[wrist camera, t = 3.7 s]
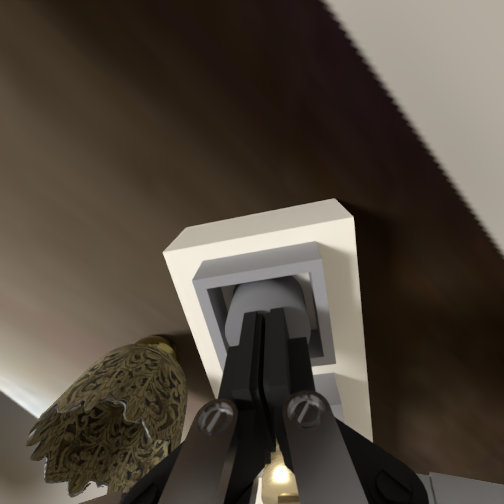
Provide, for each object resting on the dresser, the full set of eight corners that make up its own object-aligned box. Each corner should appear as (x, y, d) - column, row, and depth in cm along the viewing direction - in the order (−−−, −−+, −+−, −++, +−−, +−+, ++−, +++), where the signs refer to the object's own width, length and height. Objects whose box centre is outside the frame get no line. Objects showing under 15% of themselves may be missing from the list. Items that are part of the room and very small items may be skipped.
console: (186, 227, 17) (145, 270, 12) (334, 198, 16) (368, 231, 10) (261, 464, 26) (258, 555, 20) (362, 457, 24) (390, 552, 19)
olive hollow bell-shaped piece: (220, 331, 20) (191, 444, 13) (192, 398, 23) (154, 523, 15) (120, 295, 19) (27, 392, 12) (103, 368, 22) (19, 484, 15)
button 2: (225, 274, 14) (215, 303, 11) (297, 261, 13) (303, 289, 11) (241, 332, 15) (236, 370, 13) (308, 323, 15) (316, 360, 12)
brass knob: (256, 422, 15) (253, 484, 12) (325, 416, 14) (337, 479, 12) (269, 465, 16) (269, 529, 14) (332, 461, 16) (344, 526, 13)
